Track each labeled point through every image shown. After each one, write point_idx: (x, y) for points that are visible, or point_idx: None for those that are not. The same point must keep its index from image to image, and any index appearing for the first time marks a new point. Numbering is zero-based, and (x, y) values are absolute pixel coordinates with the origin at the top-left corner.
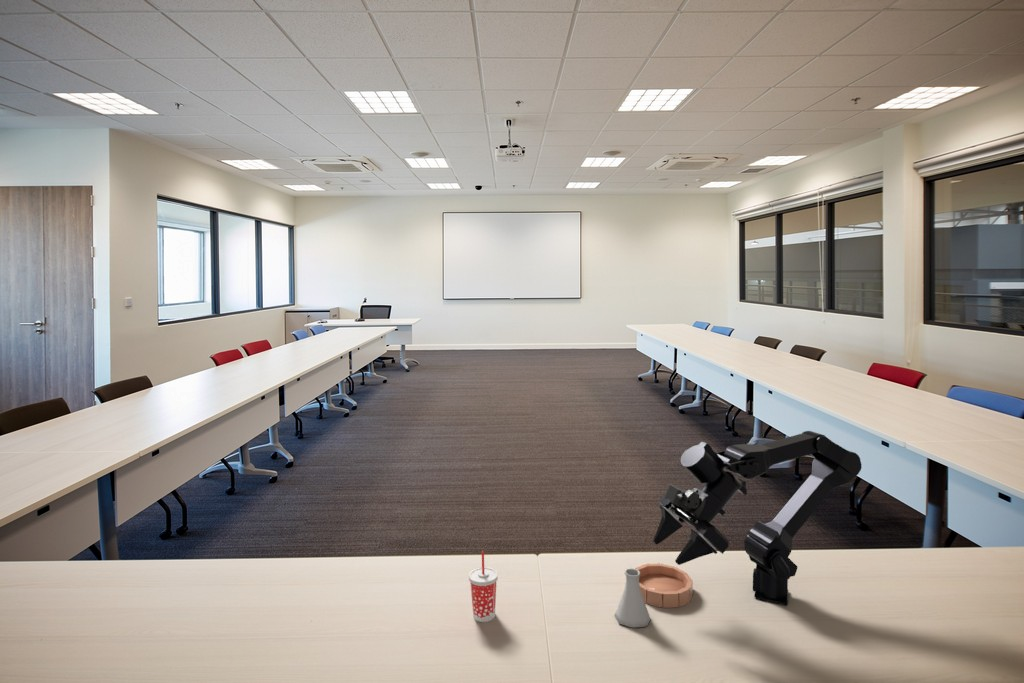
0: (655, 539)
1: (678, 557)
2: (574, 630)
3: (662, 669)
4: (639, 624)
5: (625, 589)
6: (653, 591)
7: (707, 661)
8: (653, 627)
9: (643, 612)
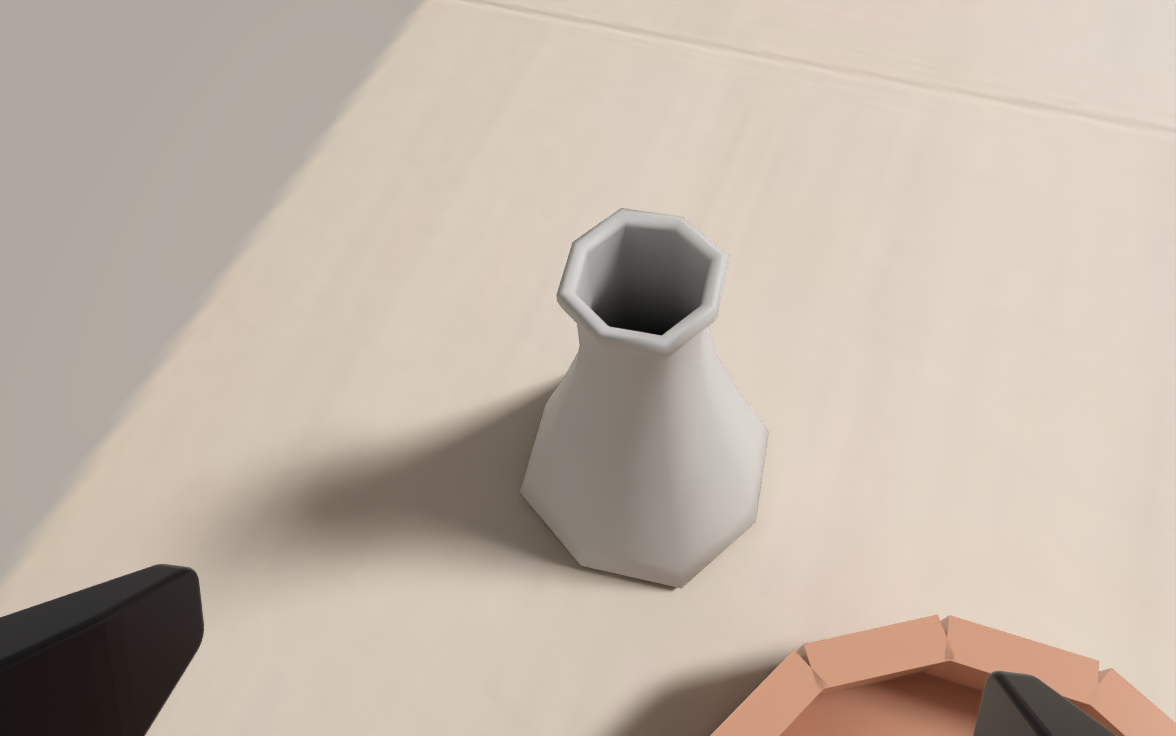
0: (1008, 699)
1: (101, 591)
2: (656, 142)
3: (192, 375)
4: (535, 443)
5: (652, 307)
6: (759, 697)
7: None
8: (502, 538)
9: (541, 457)
